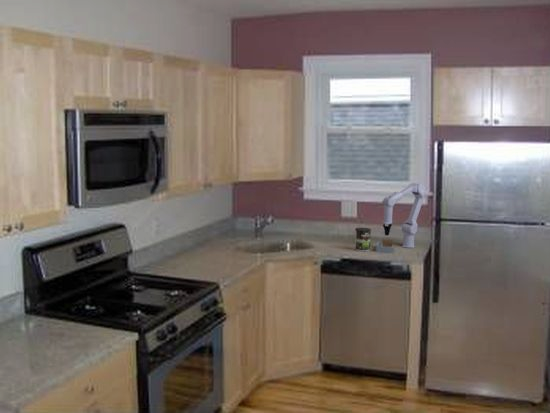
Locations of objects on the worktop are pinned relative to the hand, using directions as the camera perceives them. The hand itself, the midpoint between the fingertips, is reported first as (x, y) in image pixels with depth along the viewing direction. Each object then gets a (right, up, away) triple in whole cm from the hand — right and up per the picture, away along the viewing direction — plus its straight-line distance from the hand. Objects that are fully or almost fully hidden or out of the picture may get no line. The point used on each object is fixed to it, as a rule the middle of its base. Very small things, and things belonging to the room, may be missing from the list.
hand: (386, 235), depth 419 cm
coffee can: (-17, -10, -3) cm, 20 cm away
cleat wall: (-2, -10, -1) cm, 10 cm away
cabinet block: (0, -9, +1) cm, 10 cm away
